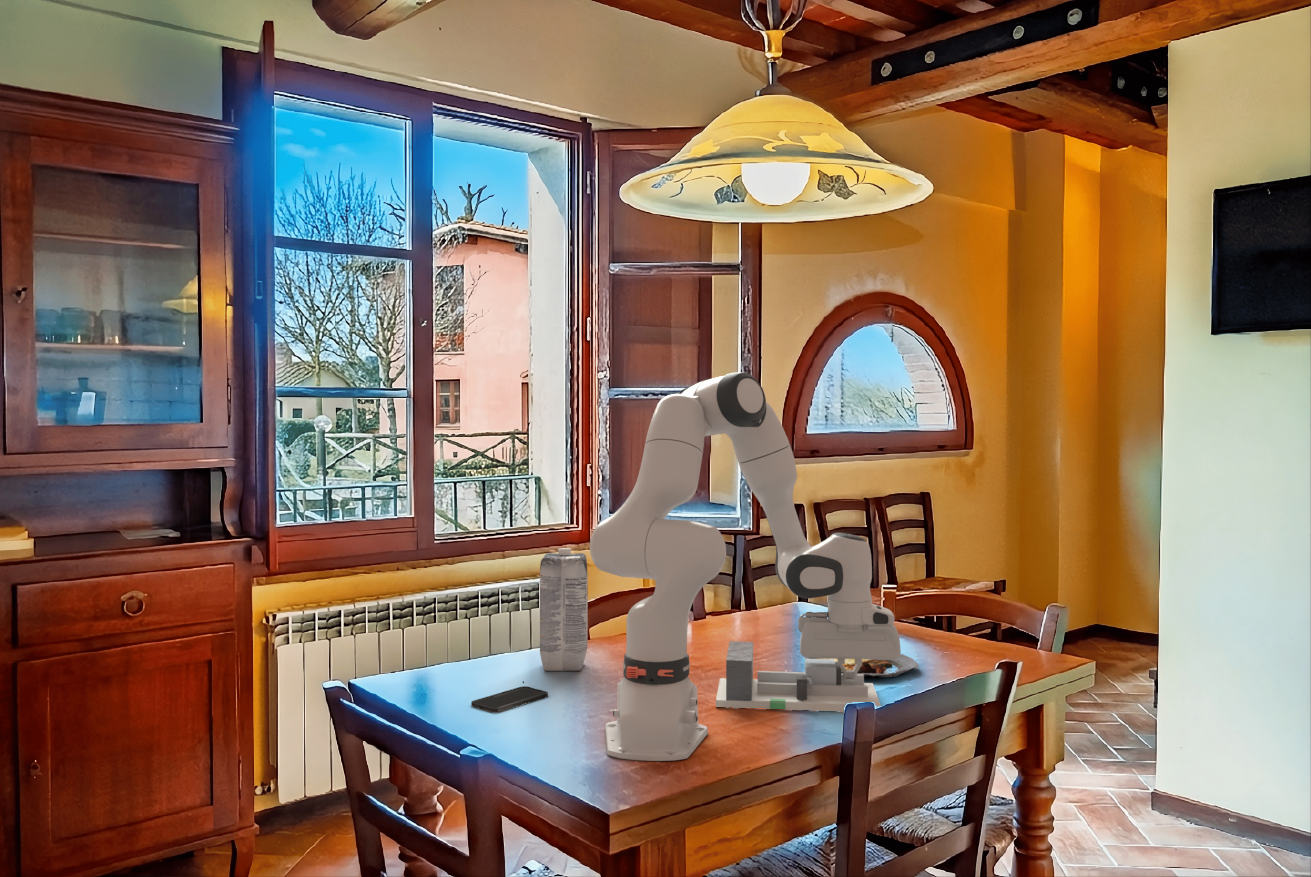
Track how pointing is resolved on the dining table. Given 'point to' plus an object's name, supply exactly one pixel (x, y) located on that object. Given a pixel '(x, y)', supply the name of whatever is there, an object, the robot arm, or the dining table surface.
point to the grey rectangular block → (739, 671)
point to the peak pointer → (801, 687)
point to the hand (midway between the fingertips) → (849, 679)
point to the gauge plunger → (822, 672)
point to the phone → (509, 699)
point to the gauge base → (781, 693)
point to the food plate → (880, 666)
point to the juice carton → (563, 610)
